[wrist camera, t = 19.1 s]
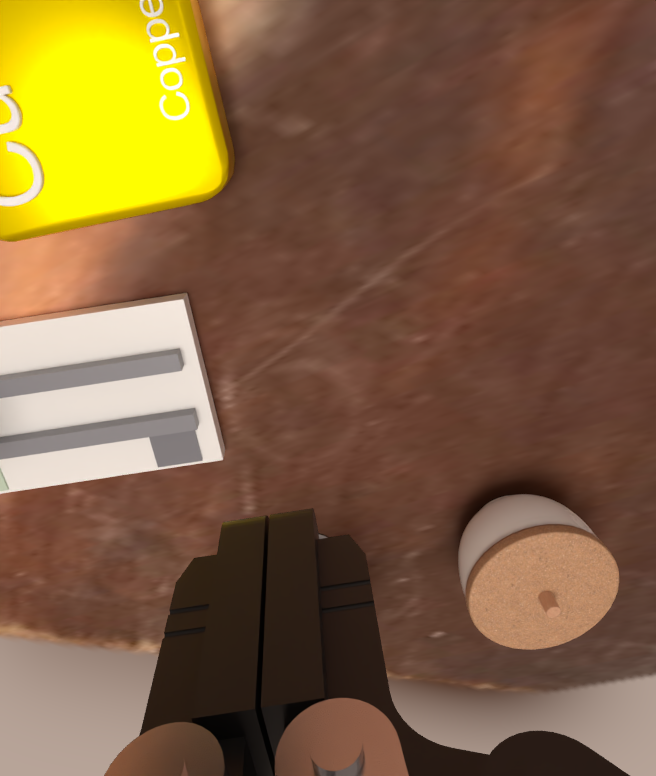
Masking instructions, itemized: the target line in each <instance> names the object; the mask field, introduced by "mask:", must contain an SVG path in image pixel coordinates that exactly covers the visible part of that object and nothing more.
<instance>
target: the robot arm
mask: <svg viewBox="0 0 656 776" xmlns="http://www.w3.org/2000/svg"><path fill="white" fill-rule="evenodd" d="M164 634H165V638H164V639H163V640H162V644H161V648H160V653H159V657H158V661H157V666H156V670H155V674H154V678H153V682H152V687H151V691H150V695H149V699H148V703H147V708H146V712H145V716H144V720H143V724H142V729H141V732H140V735H139V737H137V738H136V739H134V740H133V741H132V742H131V743H130V744H128V745H127V746H126V747H125V748H124V749H123V750H122V751H121V752H120V753H119V754H118V755H117V757H116V758H115V759H114V761H113V762H112V763H111V765H110V766H109V768H108V770H107V772H106V773H105V775H104V776H630V775H628V774H627V773H625V772H624V771H622V770H621V769H619V768H618V767H616V766H615V765H614V764H612V763H610V762H609V761H607V760H606V759H605V758H603V757H602V756H600V755H599V754H597V753H596V752H594V751H593V750H592V749H590V748H589V747H587V746H585V745H583V744H582V743H580V742H579V741H577V740H574V739H572V738H570V737H567V736H565V735H561V734H558V733H554V732H547V731H528V732H523V733H519V734H516V735H514V736H511V737H509V738H507V739H506V740H504V741H503V742H501V743H500V744H499V745H498V746H496V747H495V748H494V750H492V752H491V754H490V755H488V754H482V753H477V752H471V751H466V750H460V749H455V748H451V747H447V746H443V745H439V744H437V743H435V742H432V741H430V740H428V739H426V738H424V737H423V736H421V735H419V734H418V733H417V732H415V731H414V730H413V729H412V728H411V727H409V726H408V725H407V723H406V722H405V721H404V720H403V719H402V718H401V716H400V715H399V713H398V712H397V710H396V708H395V706H394V704H393V702H392V698H391V695H390V691H389V685H388V679H387V674H386V668H385V662H384V657H383V651H382V645H381V640H380V634H379V628H378V623H377V617H376V611H375V606H374V600H373V594H372V589H371V584H370V577H369V572H368V566H367V560H366V555H365V553H364V552H363V551H362V550H361V548H360V547H359V546H358V545H357V544H356V542H355V541H354V540H353V539H352V538H351V537H350V535H343V536H336V537H329V538H323V539H319V534H318V528H317V523H316V517H315V513H314V509H313V508H312V509H305V510H299V511H292V512H285V513H279V514H272V515H270V517H268V516H260V517H254V518H247V519H240V520H234V521H227V522H223V524H222V528H221V534H220V540H219V546H218V552H217V555H211V556H205V557H198V558H194V559H193V560H192V562H191V563H190V564H189V566H188V567H187V569H186V570H185V571H184V573H183V574H182V575H181V577H180V578H179V579H178V581H177V582H176V585H175V589H174V594H173V598H172V602H171V606H170V615H168V619H167V623H166V627H165V632H164Z"/></svg>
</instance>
